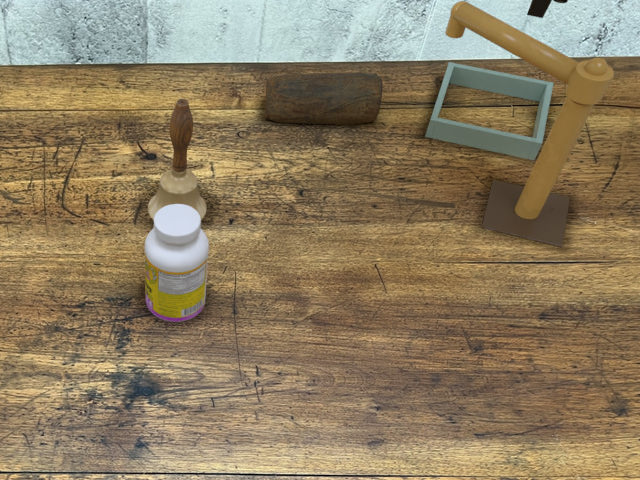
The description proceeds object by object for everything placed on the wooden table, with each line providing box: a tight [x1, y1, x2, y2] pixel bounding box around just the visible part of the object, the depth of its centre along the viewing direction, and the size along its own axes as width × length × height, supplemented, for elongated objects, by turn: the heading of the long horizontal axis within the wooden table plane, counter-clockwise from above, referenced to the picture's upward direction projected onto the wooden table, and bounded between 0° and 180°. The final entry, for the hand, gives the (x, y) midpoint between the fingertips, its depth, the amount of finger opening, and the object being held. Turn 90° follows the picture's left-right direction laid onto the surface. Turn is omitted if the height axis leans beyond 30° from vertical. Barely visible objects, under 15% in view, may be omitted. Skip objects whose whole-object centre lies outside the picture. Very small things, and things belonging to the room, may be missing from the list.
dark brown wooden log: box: [263, 72, 384, 125], centre depth 108 cm, size 15×7×7 cm, turn 90°
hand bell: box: [147, 98, 207, 221], centre depth 94 cm, size 8×8×16 cm
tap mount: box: [481, 96, 595, 248], centre depth 91 cm, size 9×9×17 cm
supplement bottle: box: [144, 204, 210, 323], centre depth 86 cm, size 7×7×13 cm
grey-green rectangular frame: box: [424, 61, 555, 161], centre depth 107 cm, size 14×14×4 cm
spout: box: [444, 0, 615, 105], centre depth 87 cm, size 20×4×5 cm, turn 35°
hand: (540, 2), depth 79 cm, fingers closed
